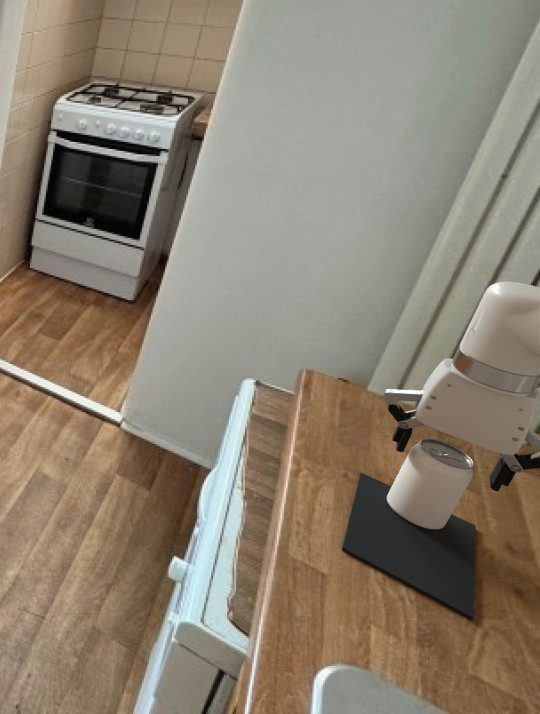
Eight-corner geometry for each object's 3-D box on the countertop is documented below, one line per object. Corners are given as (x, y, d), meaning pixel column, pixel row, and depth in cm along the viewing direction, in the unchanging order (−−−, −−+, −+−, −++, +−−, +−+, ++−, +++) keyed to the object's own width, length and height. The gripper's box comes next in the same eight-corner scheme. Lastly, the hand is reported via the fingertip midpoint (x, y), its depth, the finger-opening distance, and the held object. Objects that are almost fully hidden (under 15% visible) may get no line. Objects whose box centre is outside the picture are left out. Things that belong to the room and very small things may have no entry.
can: (454, 537, 88) (490, 476, 84) (398, 522, 90) (430, 462, 86) (428, 502, 94) (461, 443, 89) (377, 489, 96) (406, 431, 91)
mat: (474, 527, 90) (475, 525, 90) (471, 620, 78) (473, 617, 77) (360, 474, 99) (361, 472, 99) (341, 550, 86) (342, 547, 86)
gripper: (589, 387, 78) (532, 486, 84) (407, 331, 90) (367, 421, 96) (599, 415, 74) (537, 518, 80) (404, 352, 85) (363, 446, 91)
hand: (444, 465), depth 88 cm, fingers open, 9 cm apart
